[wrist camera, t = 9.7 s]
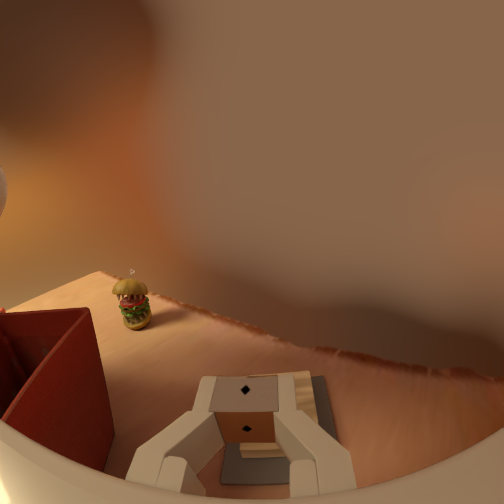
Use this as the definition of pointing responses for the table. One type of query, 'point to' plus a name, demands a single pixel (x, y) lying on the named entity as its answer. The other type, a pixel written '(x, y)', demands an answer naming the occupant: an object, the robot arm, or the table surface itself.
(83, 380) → the plant pot
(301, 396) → the picture frame
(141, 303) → the hamburger
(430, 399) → the table surface
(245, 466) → the mat
